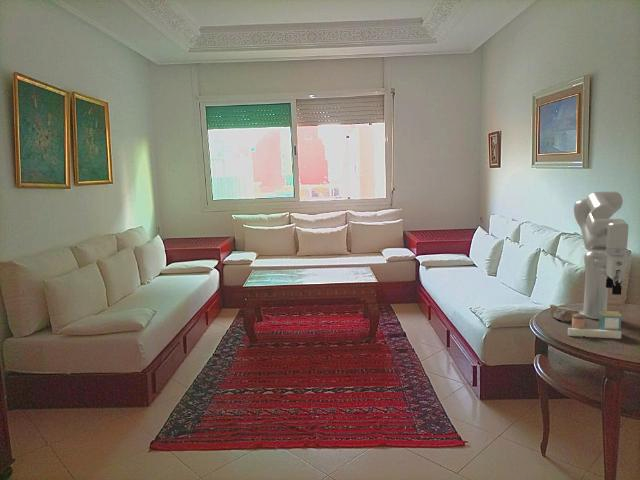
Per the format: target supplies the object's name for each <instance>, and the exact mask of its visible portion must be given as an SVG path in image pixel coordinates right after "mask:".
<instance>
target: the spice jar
mask: <svg viewBox="0 0 640 480" xmlns="http://www.w3.org/2000/svg"><path fill="white" fill-rule="evenodd" d="M585 325H586V316H585V315H583V314H580V313H579V314H577V313H576V314H572V321H571V328H578V329H586V328H585V327H586V326H585Z"/></svg>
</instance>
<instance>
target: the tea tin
mask: <svg viewBox="0 0 640 480" xmlns="http://www.w3.org/2000/svg"><path fill="white" fill-rule="evenodd" d="M599 312H600V316H599V319H598V330H614V331H621V329H622V318H623V317H622V316H623V315H622V314H621V312H619V311H614V310H613V311H611V310H606V311H599ZM621 332H622V331H621Z"/></svg>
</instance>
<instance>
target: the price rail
mask: <svg viewBox="0 0 640 480" xmlns="http://www.w3.org/2000/svg"><path fill="white" fill-rule="evenodd" d="M567 336H570V337H583V336H585V337H584V338H587V337H588V338H600V339H601V338H605V339H616V340H617V339H622V331H614V330H599V329H594V328H593V329H592V328H585V329H578V328H572V327H567Z"/></svg>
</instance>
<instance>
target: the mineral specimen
mask: <svg viewBox="0 0 640 480" xmlns="http://www.w3.org/2000/svg"><path fill="white" fill-rule="evenodd" d="M549 311H550V315H551V316H552V317H553V318H554V319H557V320H560V322H568V323H569V322H572V314H576V313H577V314H580V312H579V311H578V310H575V309H572V308H567V307H560V306H558V305H555V304H549Z"/></svg>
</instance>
